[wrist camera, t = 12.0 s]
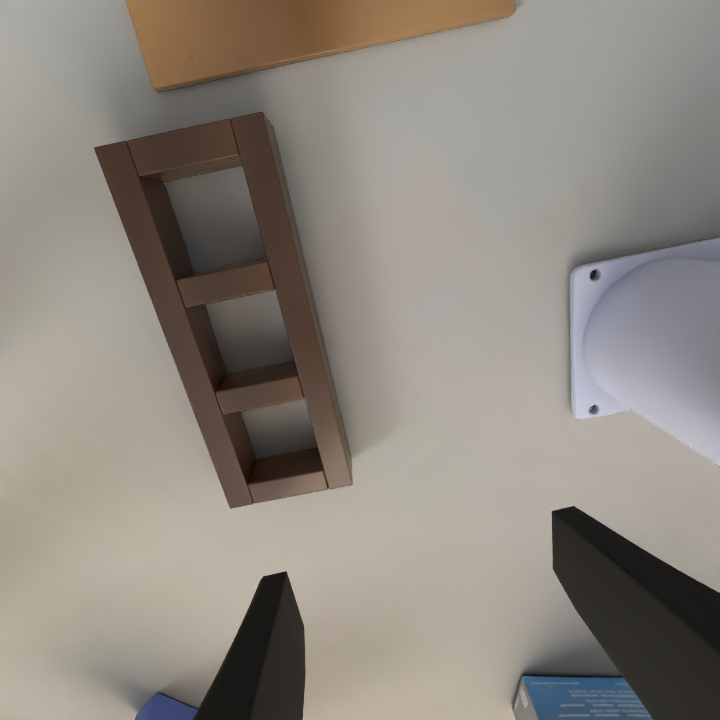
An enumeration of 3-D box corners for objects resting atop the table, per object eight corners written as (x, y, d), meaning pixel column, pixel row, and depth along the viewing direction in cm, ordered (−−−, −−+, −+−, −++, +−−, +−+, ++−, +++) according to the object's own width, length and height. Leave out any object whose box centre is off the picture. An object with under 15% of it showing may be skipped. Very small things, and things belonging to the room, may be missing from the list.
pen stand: (273, 125, 16) (262, 110, 14) (351, 459, 21) (352, 485, 19) (125, 156, 16) (93, 147, 14) (240, 481, 21) (229, 509, 19)
